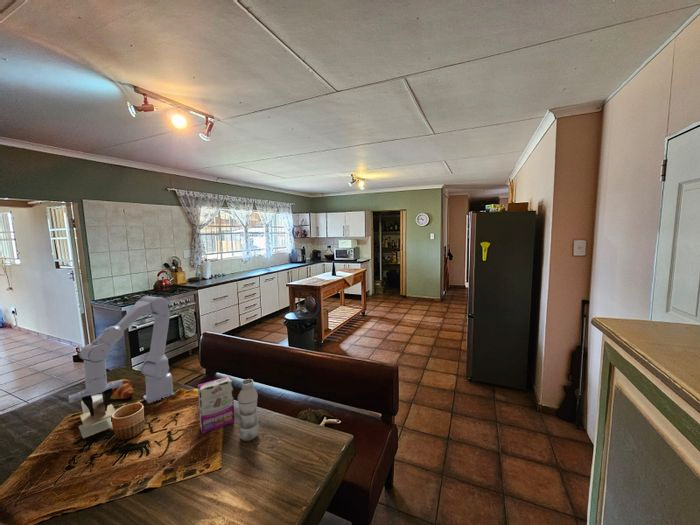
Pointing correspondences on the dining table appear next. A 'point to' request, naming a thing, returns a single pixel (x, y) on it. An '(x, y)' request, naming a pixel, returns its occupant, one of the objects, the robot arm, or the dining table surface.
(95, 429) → the mat
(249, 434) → the plastic bottle
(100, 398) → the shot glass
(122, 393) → the croissant
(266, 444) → the dining table surface
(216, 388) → the candy bar box
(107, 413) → the lid
